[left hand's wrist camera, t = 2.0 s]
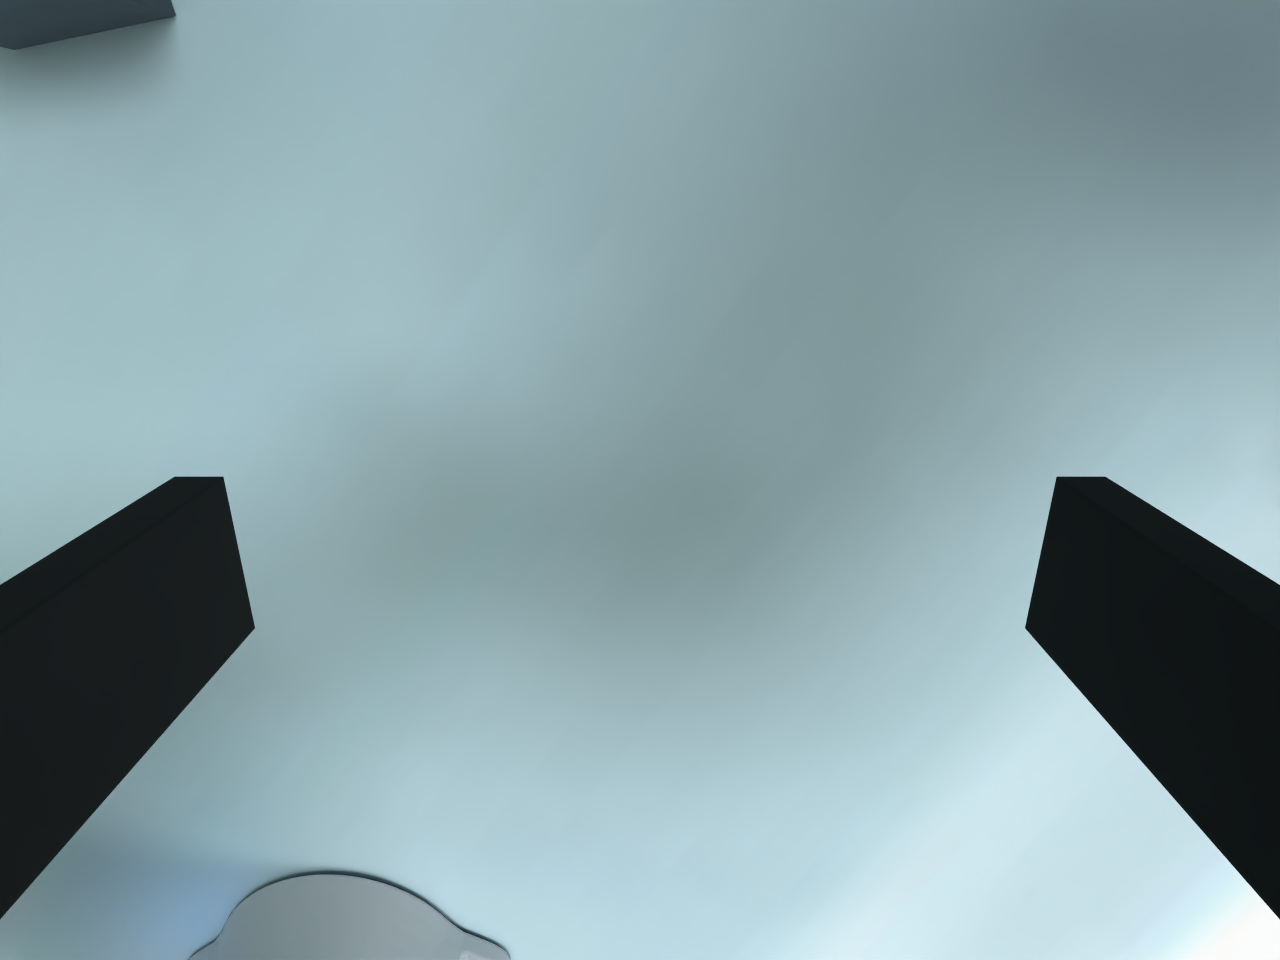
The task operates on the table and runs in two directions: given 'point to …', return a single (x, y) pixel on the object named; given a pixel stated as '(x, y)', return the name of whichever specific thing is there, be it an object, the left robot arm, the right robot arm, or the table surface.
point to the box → (71, 18)
